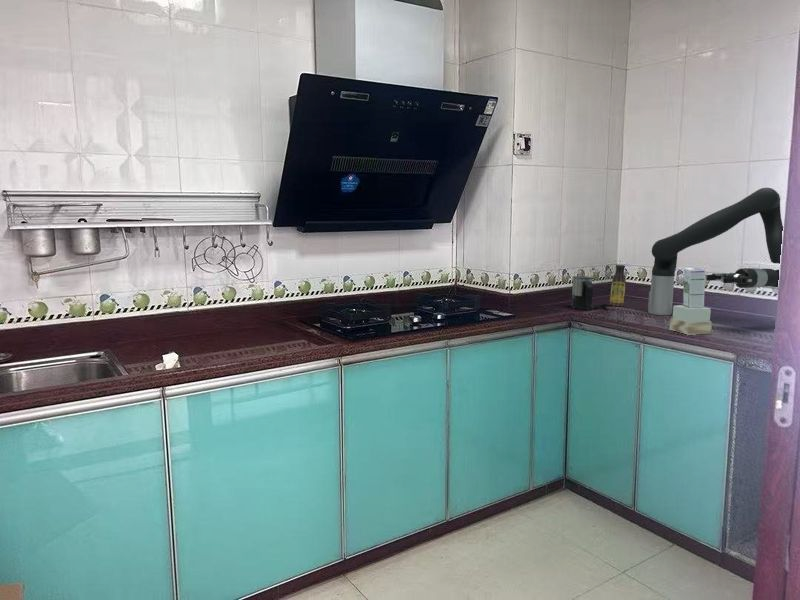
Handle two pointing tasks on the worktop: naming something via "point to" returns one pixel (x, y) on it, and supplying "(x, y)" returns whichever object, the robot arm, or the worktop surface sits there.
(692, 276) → the syrup box
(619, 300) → the sauce bottle
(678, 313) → the top block
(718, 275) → the robot arm
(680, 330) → the bottom block
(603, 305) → the milk frother
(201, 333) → the worktop surface
